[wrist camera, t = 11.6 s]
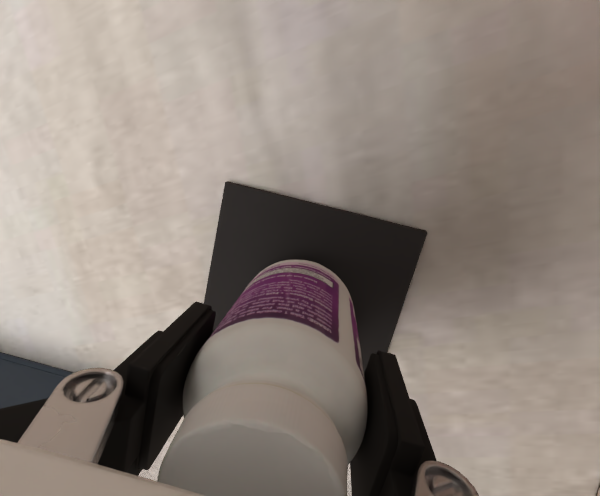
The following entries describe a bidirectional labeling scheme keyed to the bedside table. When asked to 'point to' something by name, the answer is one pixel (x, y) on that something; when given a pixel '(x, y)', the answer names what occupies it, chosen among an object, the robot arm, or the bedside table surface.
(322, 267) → the pill bottle
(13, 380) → the bin
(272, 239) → the mat
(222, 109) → the bedside table surface
